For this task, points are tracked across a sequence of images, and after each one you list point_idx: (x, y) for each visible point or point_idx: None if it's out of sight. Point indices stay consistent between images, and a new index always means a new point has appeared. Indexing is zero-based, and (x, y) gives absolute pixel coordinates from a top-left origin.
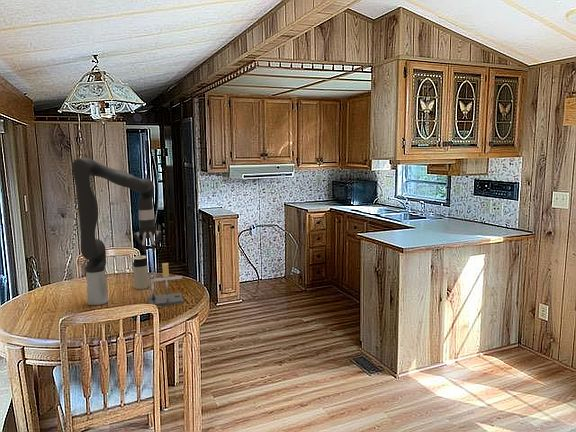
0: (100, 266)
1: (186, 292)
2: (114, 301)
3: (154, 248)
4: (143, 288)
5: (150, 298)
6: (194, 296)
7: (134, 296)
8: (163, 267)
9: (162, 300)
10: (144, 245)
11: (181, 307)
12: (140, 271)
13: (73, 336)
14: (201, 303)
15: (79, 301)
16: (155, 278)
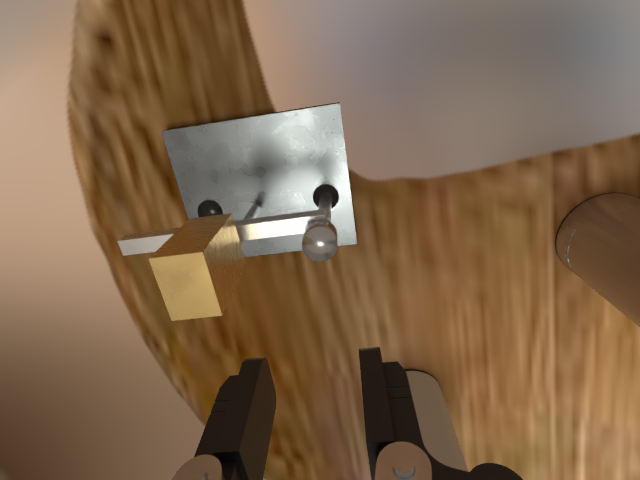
0: None
1: None
2: (522, 234)
3: (221, 399)
4: None
5: (343, 204)
6: (139, 227)
7: (430, 285)
8: (200, 243)
9: (273, 158)
10: (379, 437)
11: (159, 64)
12: (425, 443)
13: None
14: (69, 110)
15: None
16: (296, 230)
